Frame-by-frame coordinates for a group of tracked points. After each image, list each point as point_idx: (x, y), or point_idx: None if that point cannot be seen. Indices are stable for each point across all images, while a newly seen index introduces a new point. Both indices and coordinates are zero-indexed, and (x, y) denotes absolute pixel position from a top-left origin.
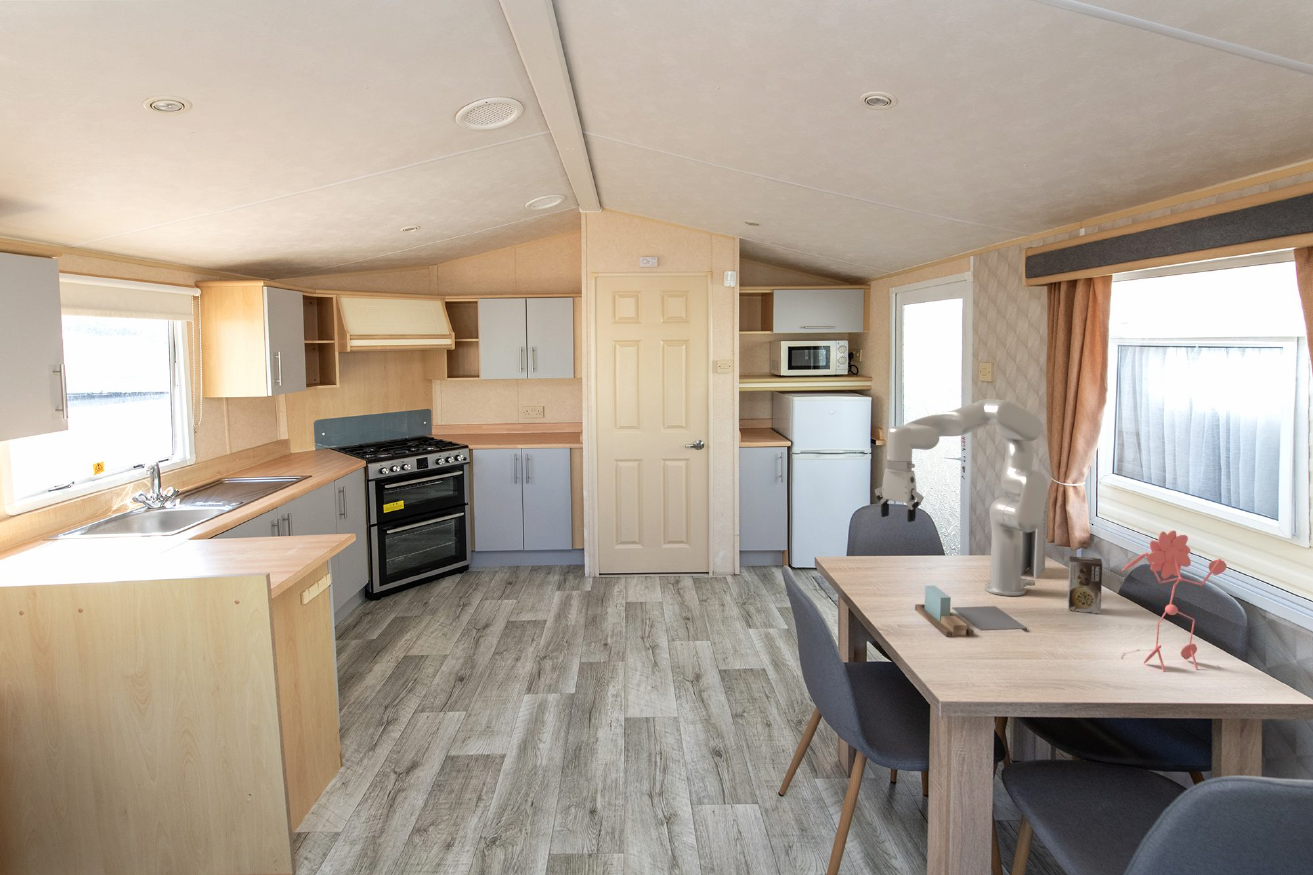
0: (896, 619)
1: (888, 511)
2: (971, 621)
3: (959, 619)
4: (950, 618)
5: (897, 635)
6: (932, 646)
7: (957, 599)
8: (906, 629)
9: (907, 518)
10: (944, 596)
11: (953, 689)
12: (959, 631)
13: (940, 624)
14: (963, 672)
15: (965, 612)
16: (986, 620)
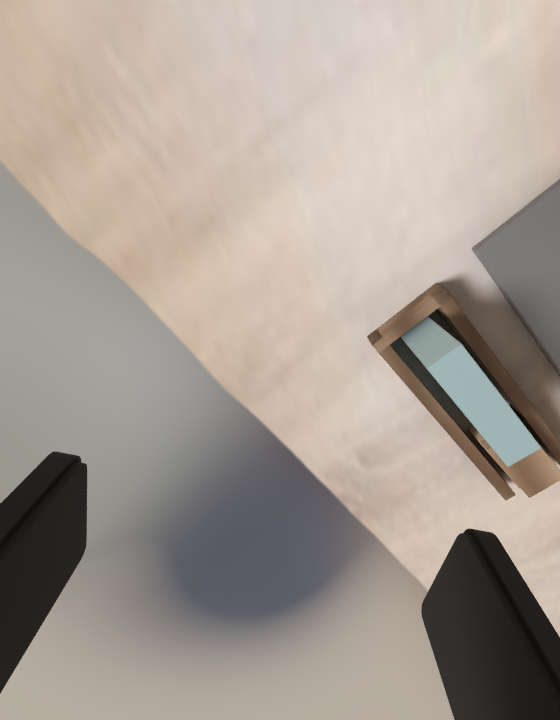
0: (341, 421)
1: (49, 508)
2: (554, 352)
3: (541, 448)
4: None
5: (381, 513)
6: None
7: (471, 83)
8: (388, 471)
9: (432, 647)
10: (519, 449)
11: None
12: None
13: (482, 466)
14: (548, 605)
15: (529, 276)
16: None
